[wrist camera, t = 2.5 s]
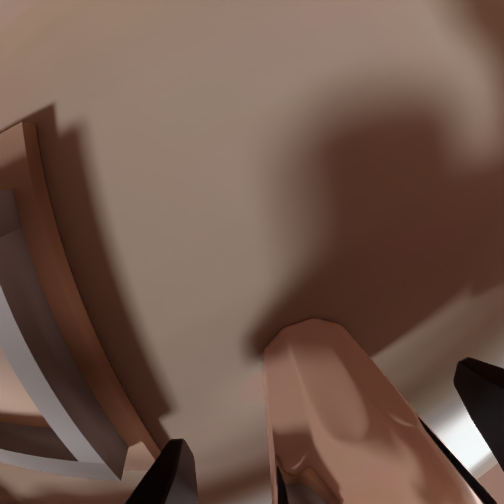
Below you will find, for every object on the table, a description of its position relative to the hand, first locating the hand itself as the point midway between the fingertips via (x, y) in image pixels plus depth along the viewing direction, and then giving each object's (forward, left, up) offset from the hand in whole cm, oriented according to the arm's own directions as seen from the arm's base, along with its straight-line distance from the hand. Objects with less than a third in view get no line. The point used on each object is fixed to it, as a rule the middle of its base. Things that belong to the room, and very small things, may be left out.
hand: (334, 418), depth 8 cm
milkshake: (0, 0, -3) cm, 3 cm away
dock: (+3, +13, -3) cm, 14 cm away
